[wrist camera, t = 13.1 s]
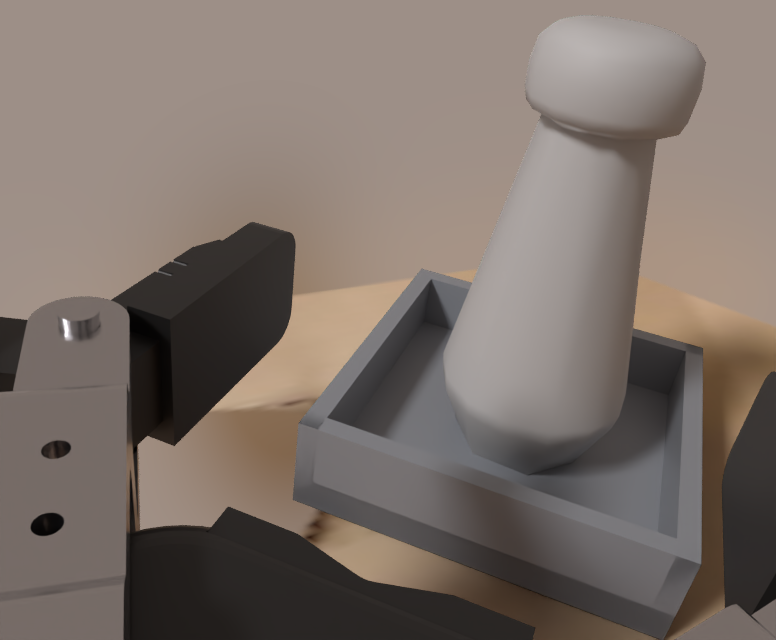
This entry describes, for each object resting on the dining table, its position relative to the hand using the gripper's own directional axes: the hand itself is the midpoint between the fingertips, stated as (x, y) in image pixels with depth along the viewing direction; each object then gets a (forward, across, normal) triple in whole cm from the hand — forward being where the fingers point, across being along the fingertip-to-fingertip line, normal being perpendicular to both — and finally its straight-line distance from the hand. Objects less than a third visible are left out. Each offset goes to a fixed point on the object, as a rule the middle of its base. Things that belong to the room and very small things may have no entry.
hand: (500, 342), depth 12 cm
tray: (+10, 0, +10) cm, 14 cm away
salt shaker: (+10, 0, +9) cm, 13 cm away
